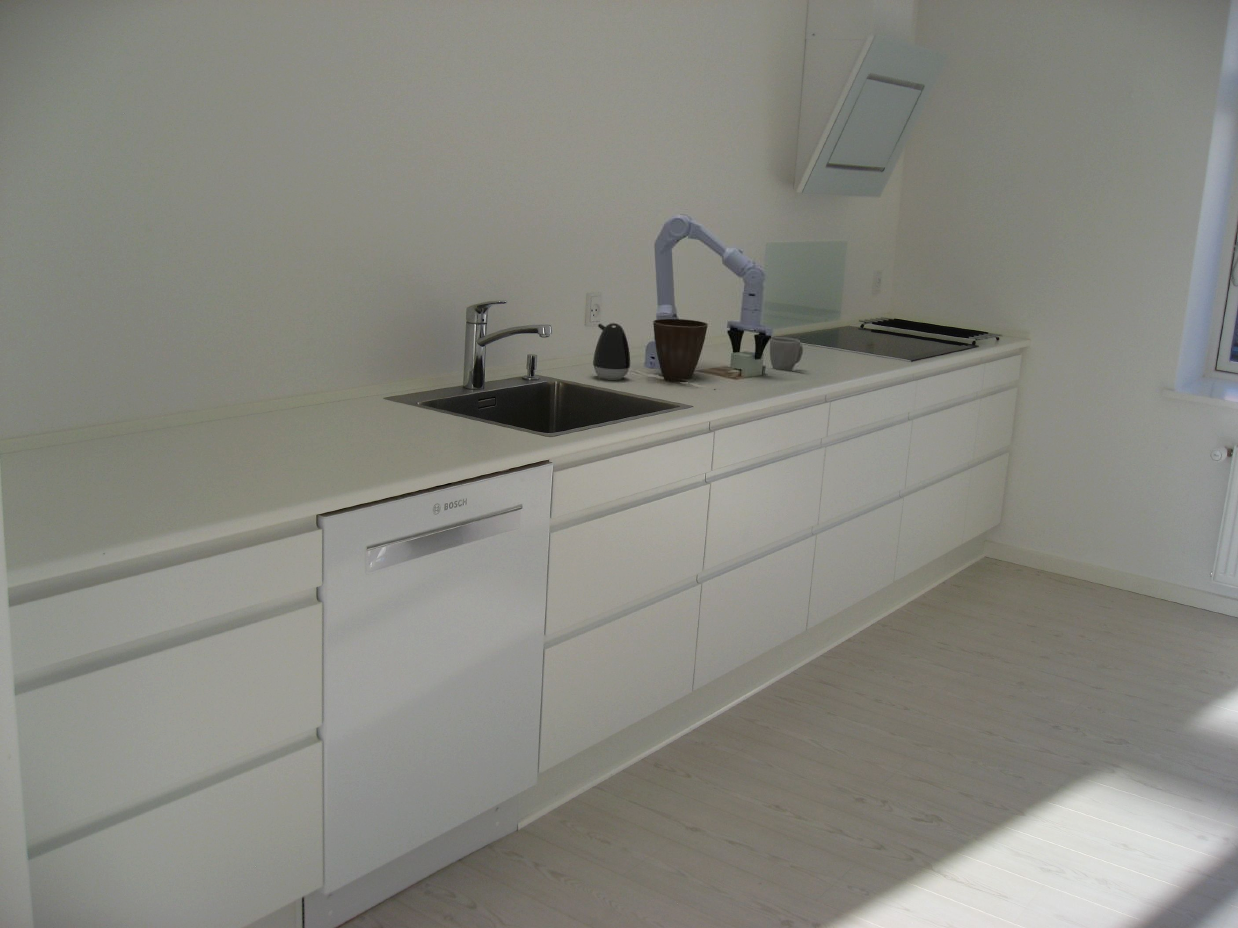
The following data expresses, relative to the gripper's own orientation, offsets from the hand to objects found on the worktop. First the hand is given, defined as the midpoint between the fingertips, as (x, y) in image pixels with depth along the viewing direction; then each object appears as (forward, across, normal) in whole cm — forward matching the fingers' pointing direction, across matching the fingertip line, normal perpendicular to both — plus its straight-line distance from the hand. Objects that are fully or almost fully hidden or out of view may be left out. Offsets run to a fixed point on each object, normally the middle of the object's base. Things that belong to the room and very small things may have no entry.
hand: (746, 357), depth 319 cm
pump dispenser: (+6, +19, +36) cm, 41 cm away
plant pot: (+6, +8, +21) cm, 23 cm away
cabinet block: (+5, 0, 0) cm, 5 cm away
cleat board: (+6, +4, +2) cm, 7 cm away
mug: (+6, 0, -20) cm, 21 cm away
